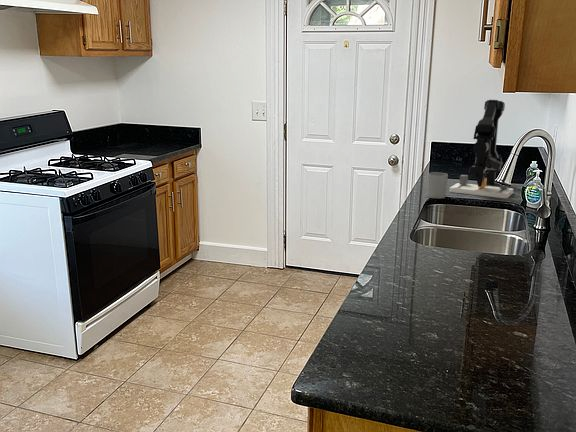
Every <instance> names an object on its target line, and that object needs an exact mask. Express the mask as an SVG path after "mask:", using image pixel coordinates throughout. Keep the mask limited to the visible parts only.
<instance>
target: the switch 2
mask: <svg viewBox="0 0 576 432" xmlns="http://www.w3.org/2000/svg"><path fill="white" fill-rule="evenodd" d="M499 187H500V189H508V188H509V185H508V186H503V185H500V184H499Z"/></svg>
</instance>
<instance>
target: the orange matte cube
mask: <svg viewBox="0 0 576 432" xmlns="http://www.w3.org/2000/svg"><path fill="white" fill-rule="evenodd" d="M486 182H487V178H484V180H483V183H482V186H481V187H480V186H478V187H479V188H485V187H486V186H487V184H486Z"/></svg>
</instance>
